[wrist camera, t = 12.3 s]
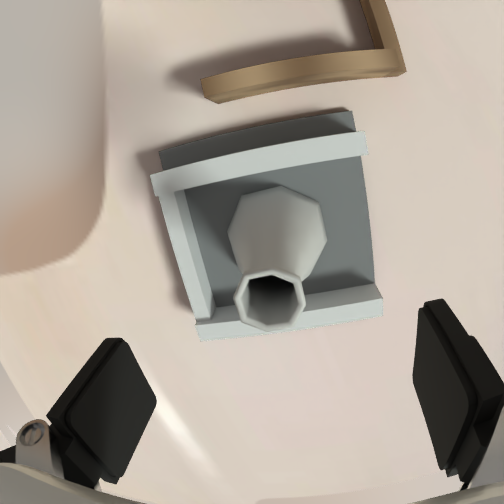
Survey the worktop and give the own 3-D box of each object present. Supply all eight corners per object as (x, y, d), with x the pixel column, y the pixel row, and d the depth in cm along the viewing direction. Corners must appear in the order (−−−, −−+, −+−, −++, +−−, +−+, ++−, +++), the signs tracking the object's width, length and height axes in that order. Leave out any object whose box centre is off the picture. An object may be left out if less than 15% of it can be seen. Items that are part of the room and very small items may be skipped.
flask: (229, 181, 22) (187, 214, 13) (332, 190, 22) (365, 229, 12) (226, 275, 25) (191, 356, 15) (320, 284, 24) (335, 370, 15)
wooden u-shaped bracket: (355, -46, 15) (364, -71, 11) (397, 76, 19) (417, 66, 15) (190, -21, 17) (174, -43, 14) (218, 104, 21) (204, 97, 17)
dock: (350, 111, 20) (359, 107, 17) (374, 311, 25) (383, 332, 22) (161, 151, 22) (144, 153, 20) (213, 334, 28) (205, 356, 25)
